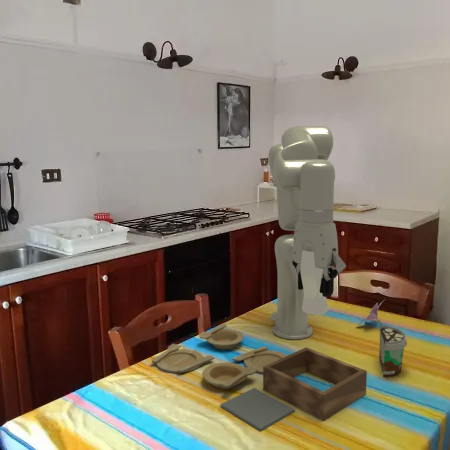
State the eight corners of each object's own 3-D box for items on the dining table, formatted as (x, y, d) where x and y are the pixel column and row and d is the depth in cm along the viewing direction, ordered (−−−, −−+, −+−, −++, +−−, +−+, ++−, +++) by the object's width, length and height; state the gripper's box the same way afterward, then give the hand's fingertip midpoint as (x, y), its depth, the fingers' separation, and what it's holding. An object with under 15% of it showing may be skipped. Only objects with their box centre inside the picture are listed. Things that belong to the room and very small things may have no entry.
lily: (382, 322, 163) (368, 297, 163) (405, 320, 152) (391, 293, 152) (357, 340, 158) (343, 314, 158) (379, 339, 147) (364, 311, 148)
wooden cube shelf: (263, 389, 118) (263, 366, 117) (305, 368, 128) (306, 347, 127) (323, 421, 104) (324, 395, 103) (366, 394, 115) (366, 370, 114)
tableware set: (142, 363, 134) (142, 349, 134) (215, 332, 155) (215, 320, 155) (236, 408, 111) (235, 392, 110) (306, 364, 132) (306, 350, 131)
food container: (409, 381, 120) (411, 344, 119) (383, 379, 122) (385, 342, 120) (401, 360, 132) (403, 325, 131) (378, 358, 134) (379, 324, 132)
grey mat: (220, 406, 111) (220, 404, 110) (254, 390, 118) (254, 387, 118) (260, 431, 101) (260, 428, 101) (294, 411, 108) (294, 409, 108)
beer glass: (296, 306, 116) (297, 245, 113) (324, 304, 117) (325, 244, 114) (303, 316, 109) (304, 252, 107) (333, 315, 110) (335, 251, 107)
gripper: (277, 214, 113) (276, 287, 116) (338, 223, 100) (336, 304, 103) (297, 211, 118) (297, 281, 121) (358, 218, 105) (356, 296, 108)
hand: (315, 291), depth 112 cm, fingers closed on beer glass, 6 cm apart
